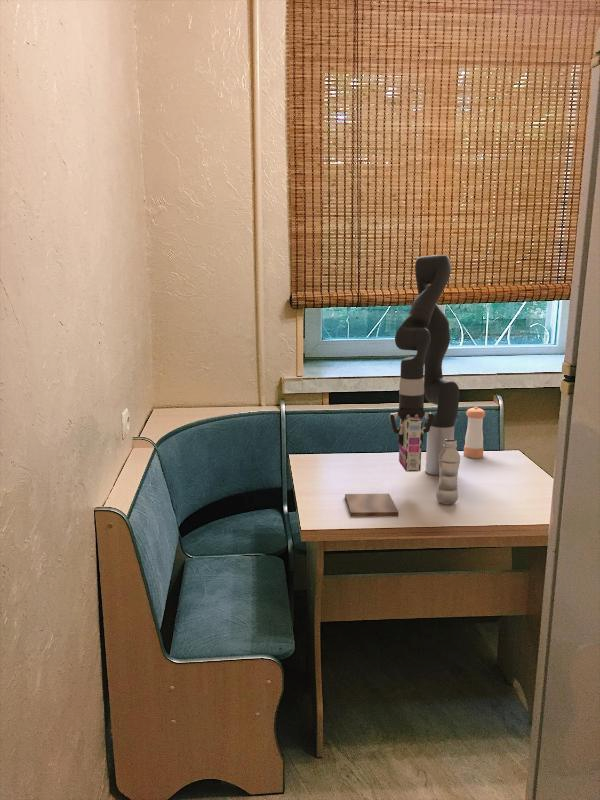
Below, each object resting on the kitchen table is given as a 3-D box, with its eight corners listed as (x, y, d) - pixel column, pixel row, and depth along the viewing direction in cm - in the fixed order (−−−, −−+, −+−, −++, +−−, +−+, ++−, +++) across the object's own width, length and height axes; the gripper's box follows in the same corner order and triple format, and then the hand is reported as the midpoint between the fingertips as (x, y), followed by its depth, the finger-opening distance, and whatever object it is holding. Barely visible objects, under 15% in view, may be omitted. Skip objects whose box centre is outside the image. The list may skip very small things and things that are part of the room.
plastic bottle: (433, 499, 219) (436, 438, 215) (454, 499, 220) (457, 437, 215) (439, 507, 213) (442, 443, 209) (460, 506, 213) (464, 443, 209)
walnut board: (388, 497, 221) (389, 493, 221) (398, 515, 206) (398, 511, 205) (344, 497, 220) (344, 494, 220) (350, 516, 205) (350, 512, 205)
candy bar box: (421, 471, 215) (423, 420, 212) (405, 472, 215) (406, 420, 211) (413, 460, 226) (414, 411, 222) (398, 461, 226) (399, 411, 222)
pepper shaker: (464, 457, 264) (466, 408, 260) (462, 452, 271) (465, 404, 267) (483, 458, 263) (487, 409, 259) (482, 453, 270) (485, 404, 266)
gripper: (431, 389, 219) (430, 441, 223) (386, 390, 218) (385, 442, 222) (437, 394, 212) (435, 447, 216) (390, 395, 211) (389, 449, 215)
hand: (410, 444), depth 219 cm, fingers closed on candy bar box, 5 cm apart
